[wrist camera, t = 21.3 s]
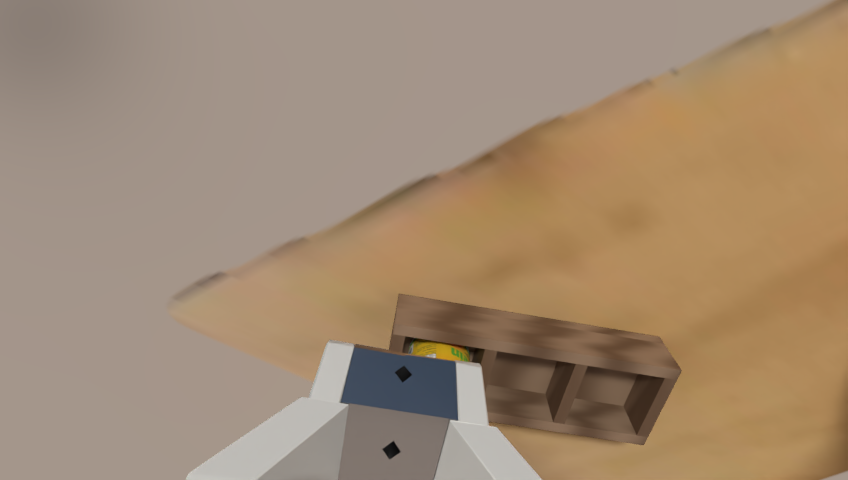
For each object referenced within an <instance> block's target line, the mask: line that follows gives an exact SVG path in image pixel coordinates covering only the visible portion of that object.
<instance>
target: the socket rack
mask: <svg viewBox="0 0 848 480" xmlns="http://www.w3.org/2000/svg"><path fill="white" fill-rule="evenodd" d="M413 338H419V339H426V340H432V341H438V342H444V343H450V344H457V345H463V346H468V347H469V354H470V362H472V363H479V364H480V365H481V367H482V373H483V381H484V389H485V397H486V405H487V413H488V421H490V422H496V423H503V424H509V425H516V426H522V427H529V428H535V429H541V430H548V431H554V432H561V433H567V434H574V435H580V436H587V437H593V438H600V439H606V440H613V441H619V442H626V443H632V444H639V445H644V444H645V442H646V440H647V438H648V436H649V434H650V432H651V430H652V428H653V426H654V424H655V422H656V420H657V418H658V416H659V414H660V412H661V410H662V408H663V406H664V404H665V402H666V400H667V398H668V396H669V394H670V393H671V391H672V389H673V387H674V385H675V383H676V381H677V379H678V377H679V375H680V373H681V371H682V370H681V369H680V367H679V366H678V364H677V363H676V361H675V360H674V358H673V357H672V355H671V354H670V352H669V351H668V349H667V348H666V346H665V344H664V343H663V341H662V340H661V338H660V337H657V336H651V335H645V334H639V333H633V332H627V331H621V330H615V329H609V328H603V327H597V326H591V325H585V324H579V323H573V322H567V321H561V320H554V319H548V318H542V317H536V316H530V315H524V314H518V313H512V312H506V311H500V310H494V309H488V308H482V307H476V306H470V305H464V304H458V303H452V302H446V301H440V300H434V299H427V298H421V297H415V296H409V295H403V294H399V297H398V302H397V308H396V313H395V319H394V324H393V330H392V335H391V341H390V347H389V350H392V351H397V352H403V353H407V354H408V351H409V346H410V343H411V341H412V339H413Z"/></svg>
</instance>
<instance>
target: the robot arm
mask: <svg viewBox="0 0 848 480" xmlns="http://www.w3.org/2000/svg"><path fill="white" fill-rule="evenodd" d="M186 480H542V479H541V478H540V477H539V475H538V474H537V473H536V472H535V471H534V470H533V469H532V467H531V466H530V465H529V464H528V463H527V462H526V460H525V459H524V458H523V457H522V456H521V455H520V454H519V452H518V451H517V450H516V449H515V448H514V447H513V445H512V444H511V443H510V442H509V441H508V440H507V439H506V437H505V436H504V435H503V434H502V433H501V432H500V430H499V429H498V428H497V427H492V426H489V421H488V413H487V405H486V397H485V389H484V381H483V373H482V367H481V365H480V364H479V363H472V362H465V361H458V360H455V361H452V360H445V359H439V358H433V357H426V356H420V355H413V354H407V353H403V352H397V351H392V350H386V349H381V348H375V347H370V346H364V345H359V344H355V345H354V344H352V343H346V342H341V341H335V340H329V341H328V343H327V344H326V347H325V350H324V353H323V356H322V359H321V362H320V365H319V368H318V371H317V374H316V377H315V380H314V383H313V386H312V389H311V392H310V395H309V398H304V397H300V398H298V399H297V400H296V401H294V402H293V403H291V404H290V405H288V406H287V407H285V408H284V409H282V410H281V411H279V412H278V413H276V414H275V415H273V416H272V417H271V418H269V419H268V420H266V421H265V422H263V423H262V424H260V425H259V426H257V427H256V428H254V429H253V430H252V431H250V432H249V433H247V434H246V435H244V436H243V437H241V438H240V439H238V440H237V441H235V442H234V443H232V444H231V445H229V446H228V447H226V448H225V449H224V450H222V451H221V452H219V453H218V454H216V455H215V456H213V457H212V458H210V459H209V460H207V461H206V462H204V463H203V464H201V465H200V466H198V467H197V468H196V469H194V470H193V471H191V472H190V473H189V474H188V476H187V478H186Z"/></svg>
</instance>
